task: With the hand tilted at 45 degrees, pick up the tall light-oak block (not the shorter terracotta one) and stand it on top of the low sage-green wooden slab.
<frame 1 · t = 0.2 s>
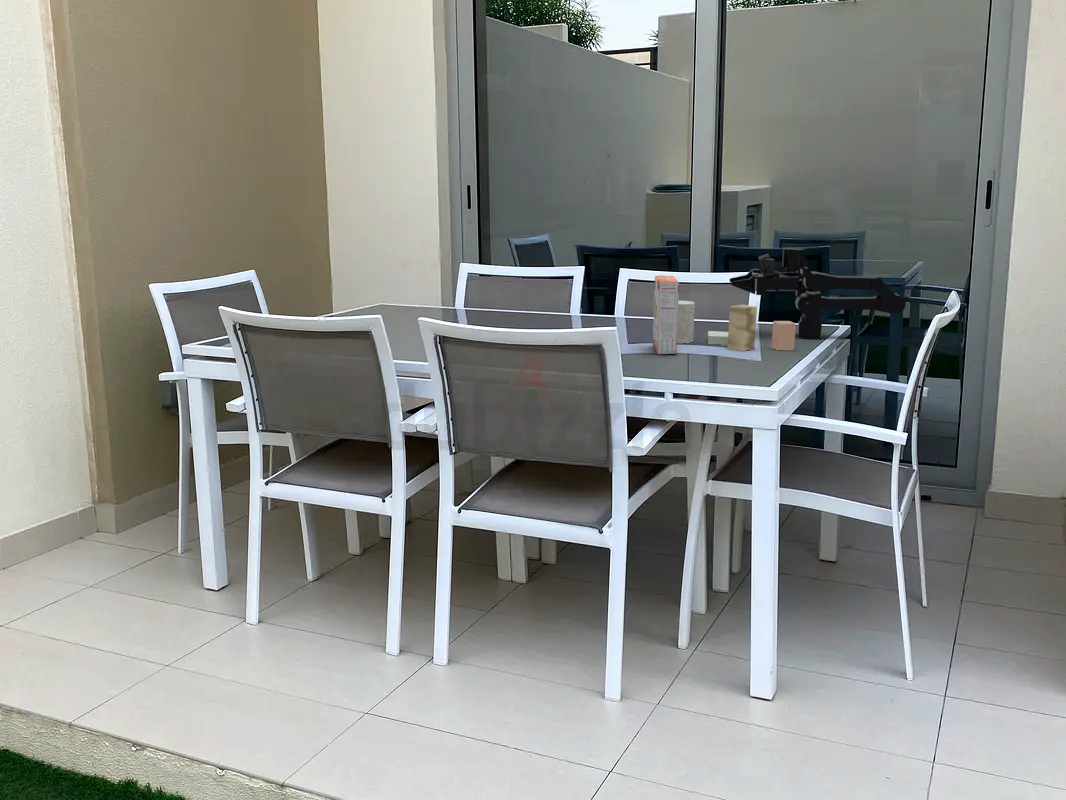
hand: (730, 281, 322), 17 cm above the table, tool horizontal, fingers open, 9 cm apart
terracotta block: (782, 349, 301), on the table
cup: (679, 342, 311), on the table
cracker box: (663, 351, 297), on the table
sage slab: (722, 343, 311), on the table
oak block: (740, 349, 301), on the table
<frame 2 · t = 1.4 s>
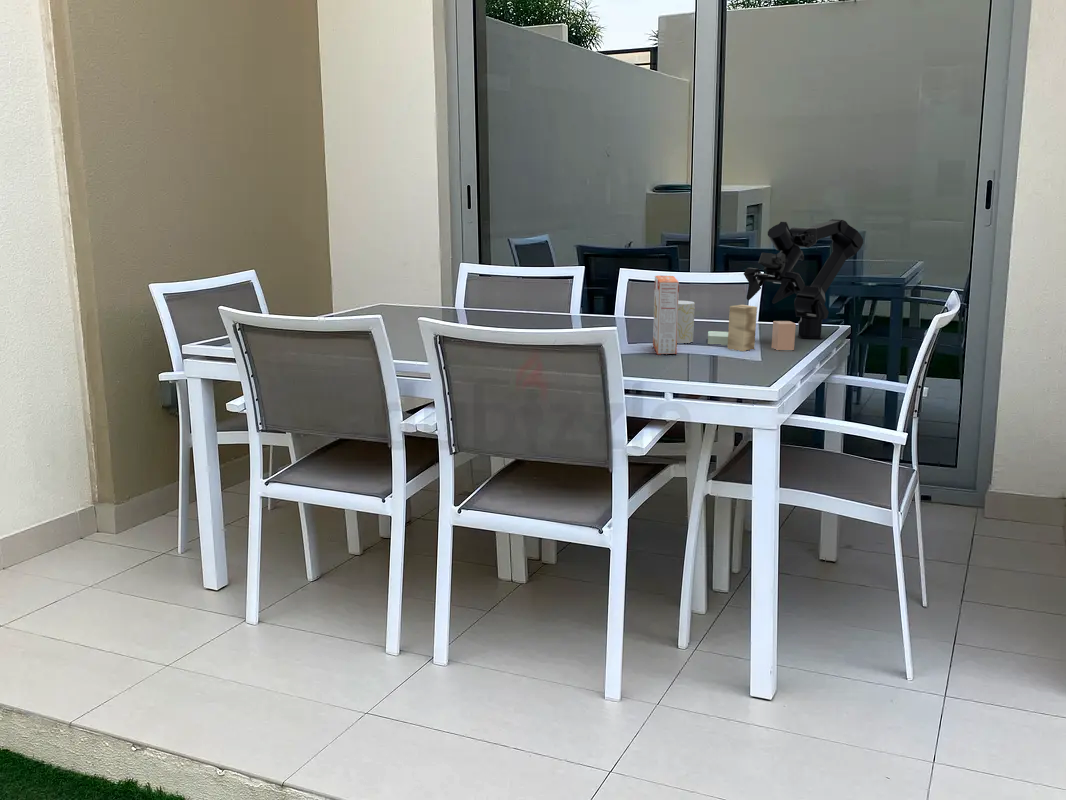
hand: (760, 301, 303), 13 cm above the table, tool tilted 45°, fingers open, 9 cm apart
nothing on the table moved.
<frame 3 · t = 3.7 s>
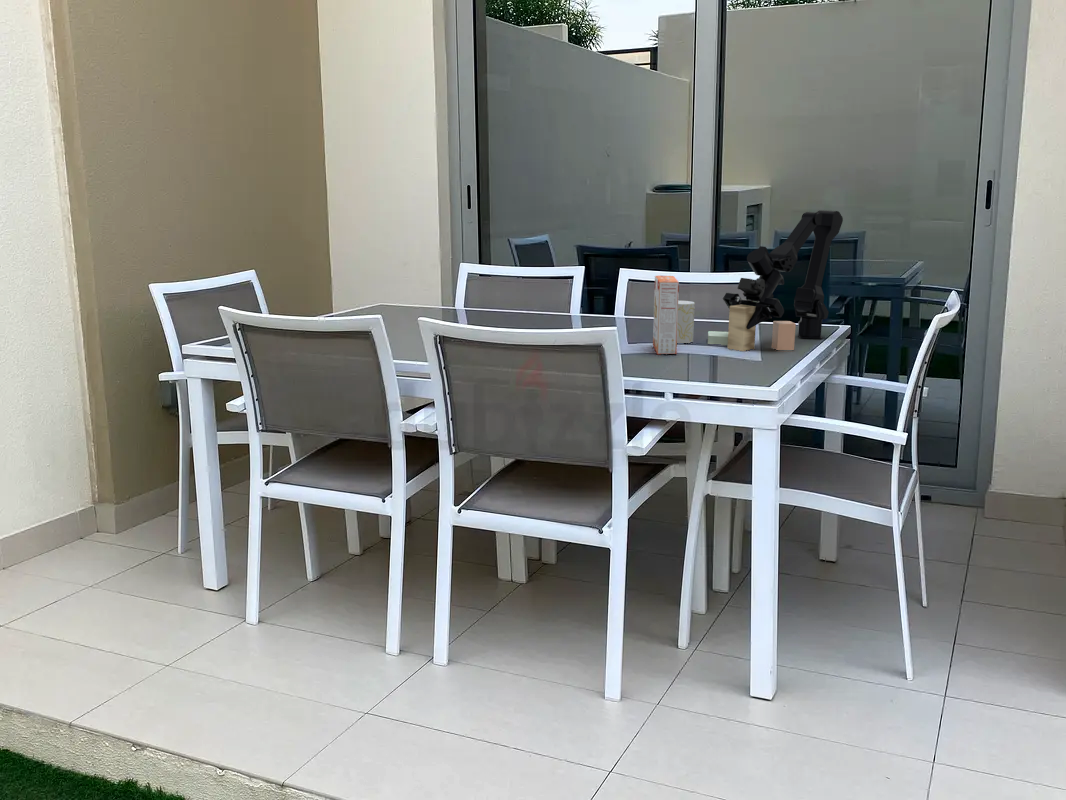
hand: (739, 326, 298), 7 cm above the table, tool tilted 45°, fingers closed on oak block, 5 cm apart
oak block: (740, 348, 301), on the table, touching gripper
everything else where it was.
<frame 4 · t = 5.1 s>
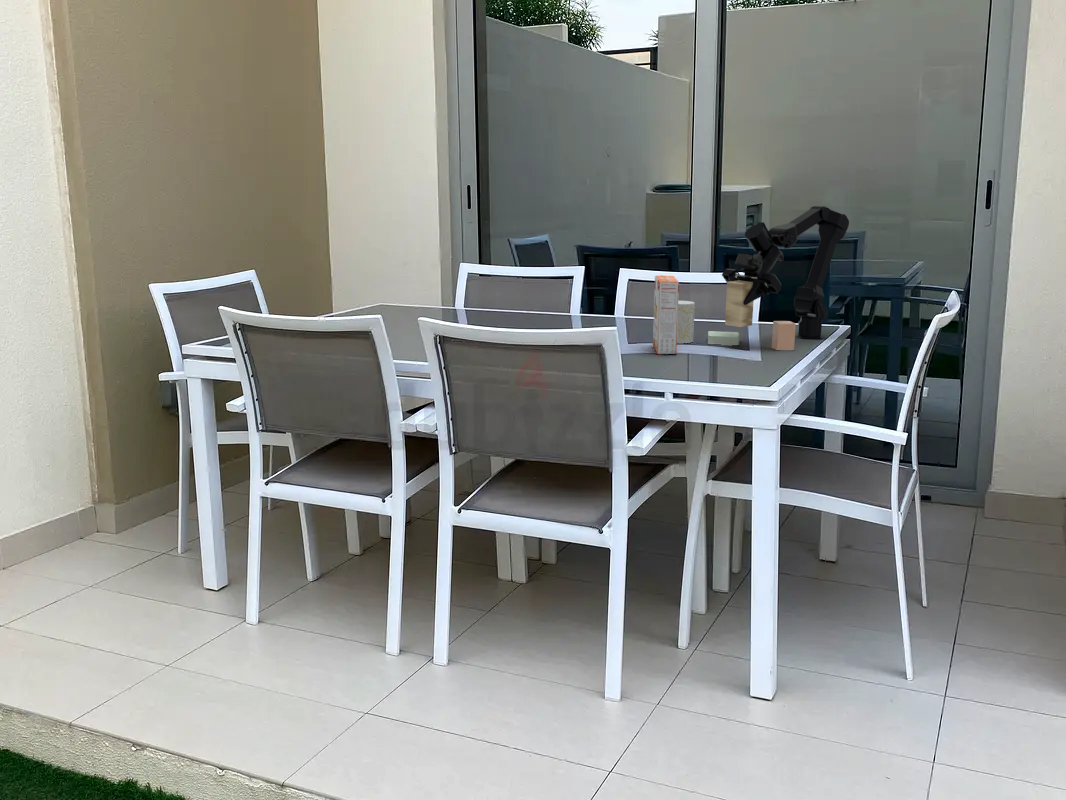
hand: (736, 302, 299), 13 cm above the table, tool tilted 45°, fingers closed on oak block, 5 cm apart
oak block: (738, 324, 301), point 7 cm above the table, touching gripper
everything else where it was.
when the fingers open (11 cm above the table, at t = 6.8 s): oak block drops 2 cm, resting on sage slab.
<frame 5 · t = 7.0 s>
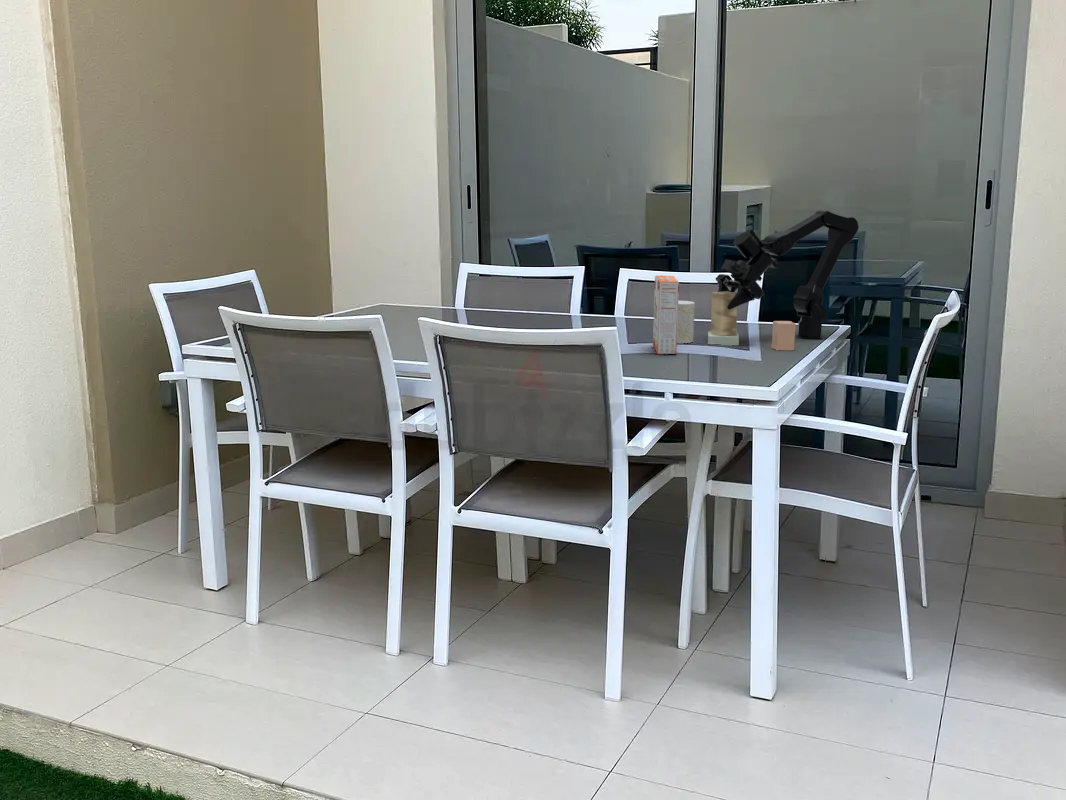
hand: (720, 306, 308), 11 cm above the table, tool tilted 45°, fingers open, 8 cm apart
sage slab: (722, 344, 311), on the table, touching oak block
oak block: (723, 334, 311), point 3 cm above the table, touching sage slab
everything else where it was.
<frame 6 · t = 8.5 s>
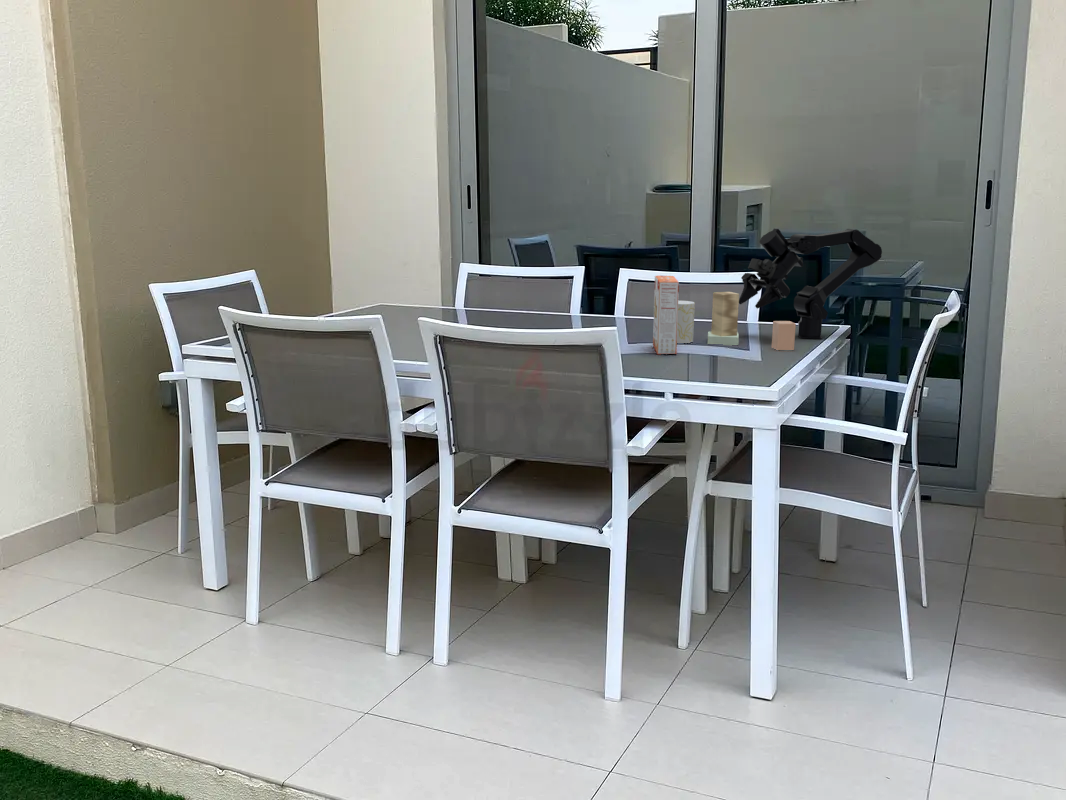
hand: (747, 305, 312), 11 cm above the table, tool tilted 45°, fingers open, 9 cm apart
nothing on the table moved.
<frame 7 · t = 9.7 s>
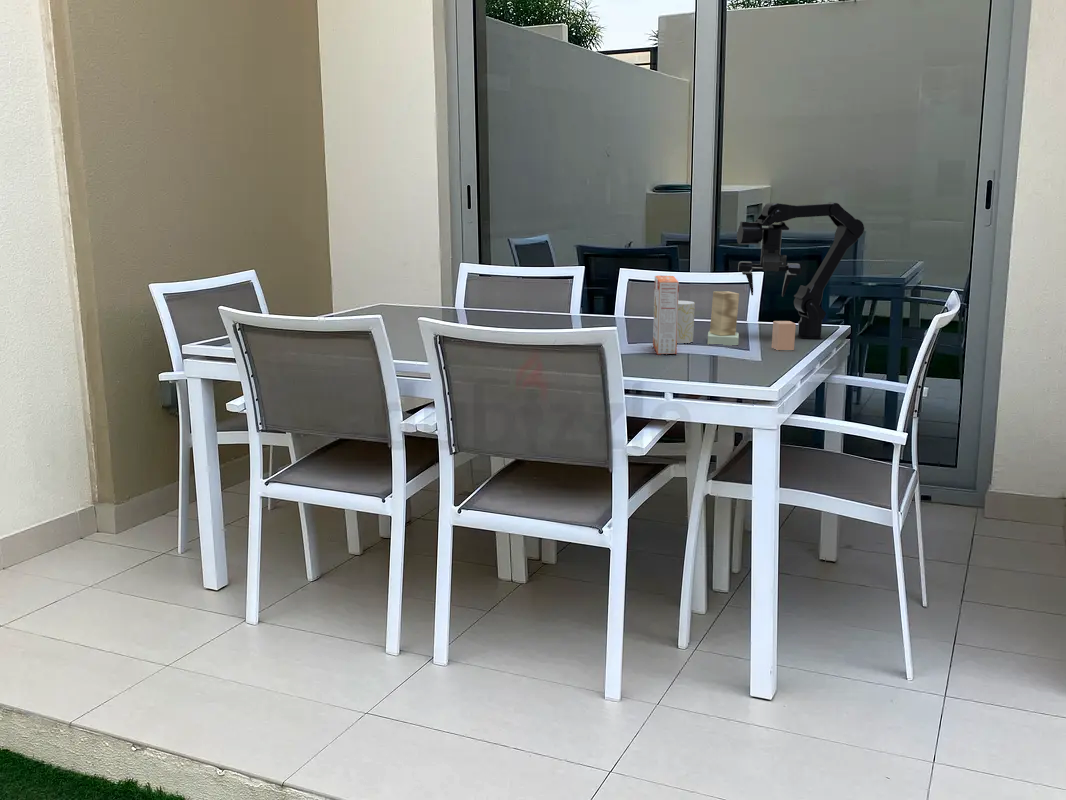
hand: (767, 295, 318), 13 cm above the table, tool pointing down, fingers open, 9 cm apart
nothing on the table moved.
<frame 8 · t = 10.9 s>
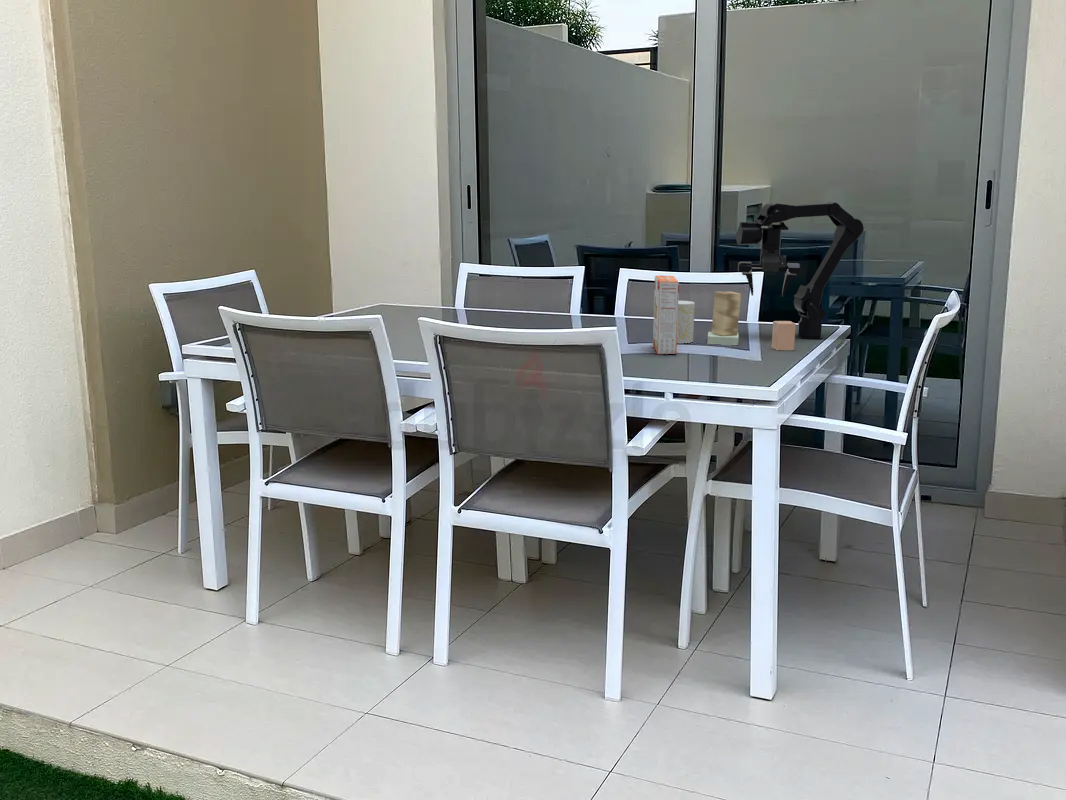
hand: (767, 295, 318), 13 cm above the table, tool pointing down, fingers open, 9 cm apart
nothing on the table moved.
at the end: oak block inside the target area on the sage slab (0.4 cm from its centre), point 3.0 cm above the sage slab's base; oak block tilted 0°; the gripper is holding nothing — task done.
